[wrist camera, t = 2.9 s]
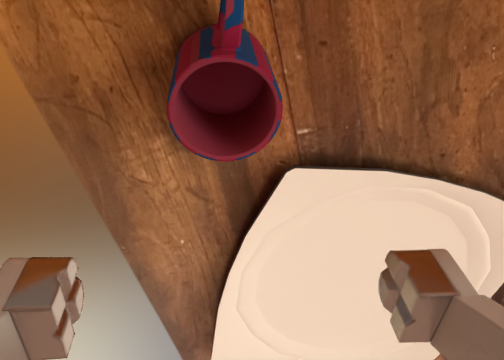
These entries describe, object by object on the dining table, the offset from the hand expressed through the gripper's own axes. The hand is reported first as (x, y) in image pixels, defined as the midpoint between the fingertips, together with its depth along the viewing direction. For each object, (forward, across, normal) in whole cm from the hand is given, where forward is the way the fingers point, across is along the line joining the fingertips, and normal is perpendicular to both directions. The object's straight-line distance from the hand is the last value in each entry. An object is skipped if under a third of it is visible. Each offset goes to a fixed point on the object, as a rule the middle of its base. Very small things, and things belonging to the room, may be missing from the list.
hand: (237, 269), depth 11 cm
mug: (+21, 0, 0) cm, 21 cm away
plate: (+21, -15, +24) cm, 35 cm away
